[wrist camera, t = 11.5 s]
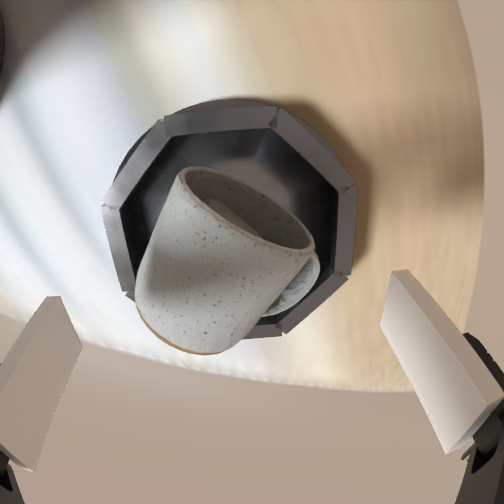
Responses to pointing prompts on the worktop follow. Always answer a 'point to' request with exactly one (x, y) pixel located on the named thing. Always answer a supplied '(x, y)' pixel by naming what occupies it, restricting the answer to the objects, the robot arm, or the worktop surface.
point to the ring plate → (248, 170)
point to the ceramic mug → (221, 262)
